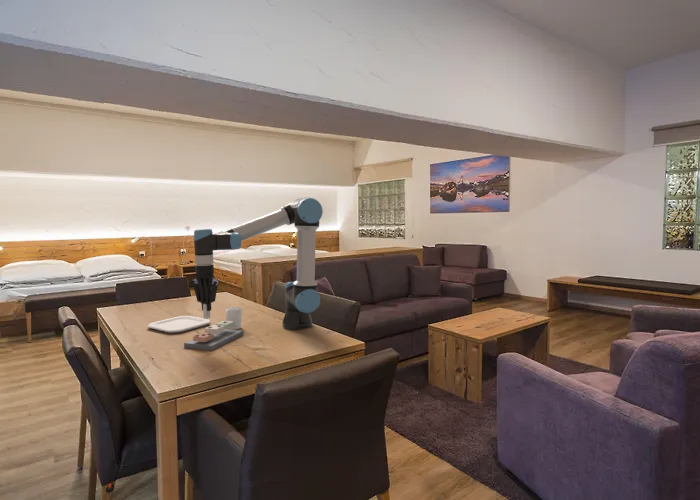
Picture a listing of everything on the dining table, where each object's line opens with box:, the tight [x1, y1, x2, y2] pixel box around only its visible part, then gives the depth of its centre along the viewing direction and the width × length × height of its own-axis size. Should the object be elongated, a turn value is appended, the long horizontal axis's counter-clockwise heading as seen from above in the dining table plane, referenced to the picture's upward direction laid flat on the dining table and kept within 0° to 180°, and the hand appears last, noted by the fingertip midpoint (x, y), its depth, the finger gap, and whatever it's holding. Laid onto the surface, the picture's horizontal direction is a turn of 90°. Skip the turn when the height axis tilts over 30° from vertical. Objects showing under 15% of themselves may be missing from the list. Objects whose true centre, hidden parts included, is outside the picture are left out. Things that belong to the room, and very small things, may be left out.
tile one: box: [215, 320, 234, 329], centre depth 194 cm, size 6×6×2 cm
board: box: [183, 329, 244, 351], centre depth 187 cm, size 14×24×2 cm, turn 162°
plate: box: [147, 315, 211, 334], centre depth 212 cm, size 25×25×2 cm
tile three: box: [192, 332, 214, 342], centre depth 179 cm, size 6×6×2 cm
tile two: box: [204, 324, 224, 334], centre depth 186 cm, size 6×6×2 cm
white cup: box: [224, 306, 243, 330], centre depth 208 cm, size 8×8×10 cm
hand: (207, 318), depth 180 cm, fingers closed
